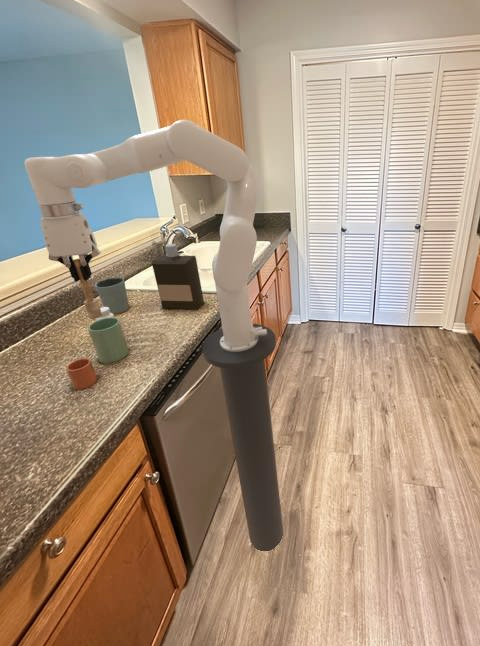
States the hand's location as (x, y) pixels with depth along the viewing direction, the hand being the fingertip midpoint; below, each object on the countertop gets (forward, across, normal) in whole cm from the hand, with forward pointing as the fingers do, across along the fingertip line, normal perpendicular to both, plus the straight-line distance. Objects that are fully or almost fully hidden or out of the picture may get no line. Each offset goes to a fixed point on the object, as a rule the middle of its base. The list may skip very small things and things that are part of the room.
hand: (83, 278), depth 87 cm
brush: (+12, 0, 0) cm, 12 cm away
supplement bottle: (+26, +4, -16) cm, 31 cm away
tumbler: (+26, -1, -2) cm, 26 cm away
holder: (+26, +3, +10) cm, 28 cm away
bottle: (+26, -19, -32) cm, 45 cm away
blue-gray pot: (+26, +7, -37) cm, 46 cm away
